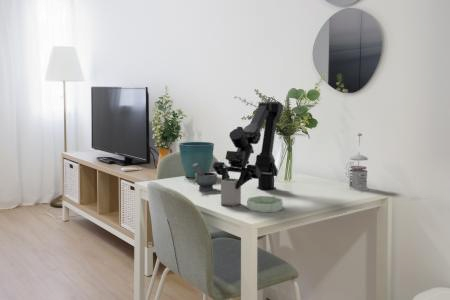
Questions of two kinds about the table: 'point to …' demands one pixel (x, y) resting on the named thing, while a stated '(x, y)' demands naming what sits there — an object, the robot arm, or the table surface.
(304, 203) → the table surface
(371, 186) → the table surface
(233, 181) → the tumbler
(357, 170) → the french press
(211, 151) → the flower pot
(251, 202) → the dish
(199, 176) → the mortar and pestle
